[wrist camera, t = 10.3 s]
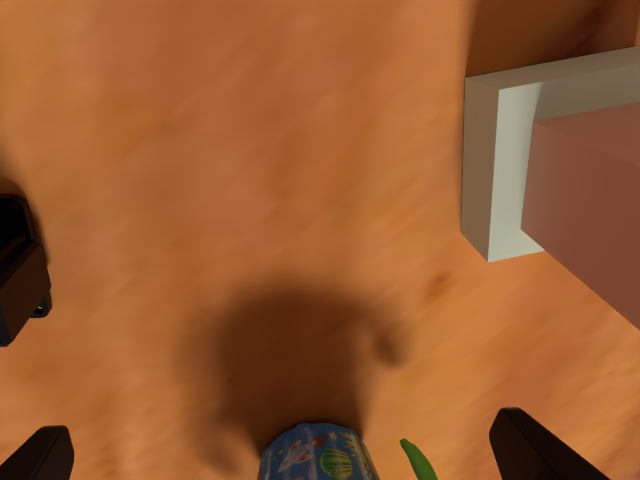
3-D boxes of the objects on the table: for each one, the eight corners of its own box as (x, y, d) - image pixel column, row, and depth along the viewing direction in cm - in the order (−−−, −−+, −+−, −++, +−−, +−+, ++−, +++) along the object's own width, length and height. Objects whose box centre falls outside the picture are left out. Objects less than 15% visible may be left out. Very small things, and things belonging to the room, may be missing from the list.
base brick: (461, 232, 23) (487, 262, 20) (465, 77, 19) (499, 89, 16) (601, 204, 23) (645, 229, 20) (635, 46, 19) (696, 53, 16)
